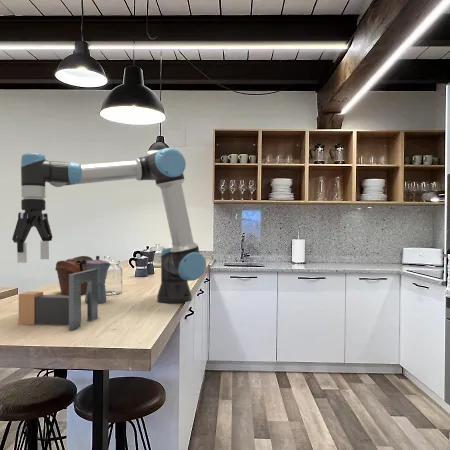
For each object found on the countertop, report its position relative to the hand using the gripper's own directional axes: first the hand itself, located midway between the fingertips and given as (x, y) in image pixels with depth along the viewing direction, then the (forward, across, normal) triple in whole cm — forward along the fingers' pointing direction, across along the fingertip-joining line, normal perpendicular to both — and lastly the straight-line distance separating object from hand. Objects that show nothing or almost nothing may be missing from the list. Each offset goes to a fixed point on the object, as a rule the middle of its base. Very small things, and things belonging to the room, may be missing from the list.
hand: (33, 260), depth 142 cm
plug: (+21, +2, +7) cm, 22 cm away
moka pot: (+21, -38, +5) cm, 43 cm away
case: (+21, -58, -14) cm, 64 cm away
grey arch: (+21, +1, +19) cm, 28 cm away
